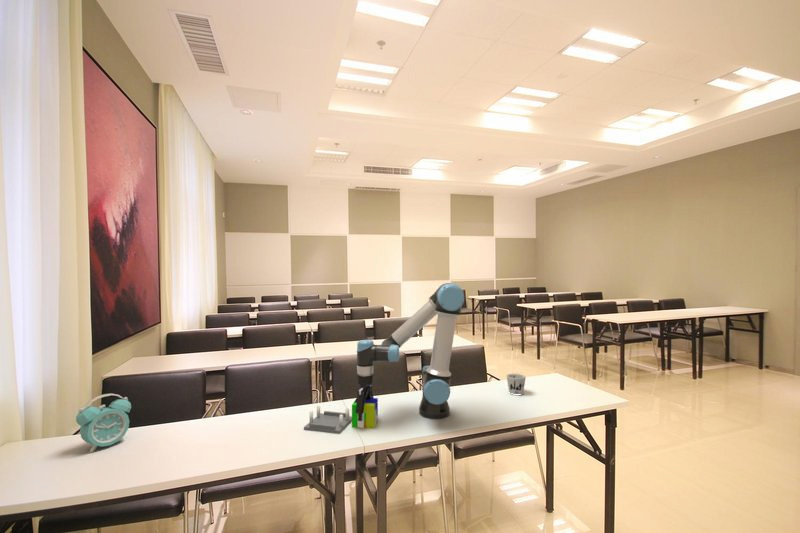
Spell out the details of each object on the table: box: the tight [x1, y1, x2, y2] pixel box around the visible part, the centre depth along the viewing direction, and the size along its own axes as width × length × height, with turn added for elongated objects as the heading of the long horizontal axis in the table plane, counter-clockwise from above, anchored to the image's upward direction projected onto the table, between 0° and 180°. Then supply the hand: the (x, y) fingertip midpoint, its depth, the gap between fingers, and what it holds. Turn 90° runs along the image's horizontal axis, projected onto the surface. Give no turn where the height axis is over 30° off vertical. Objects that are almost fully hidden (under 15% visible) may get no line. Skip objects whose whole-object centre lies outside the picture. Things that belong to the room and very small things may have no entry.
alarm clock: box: [75, 393, 132, 453], centre depth 145 cm, size 17×10×20 cm, turn 148°
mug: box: [506, 373, 527, 395], centre depth 209 cm, size 10×15×10 cm
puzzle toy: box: [351, 397, 379, 429], centre depth 166 cm, size 10×10×10 cm
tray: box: [303, 405, 352, 435], centre depth 165 cm, size 17×16×6 cm
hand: (365, 422), depth 166 cm, fingers closed on puzzle toy, 10 cm apart
